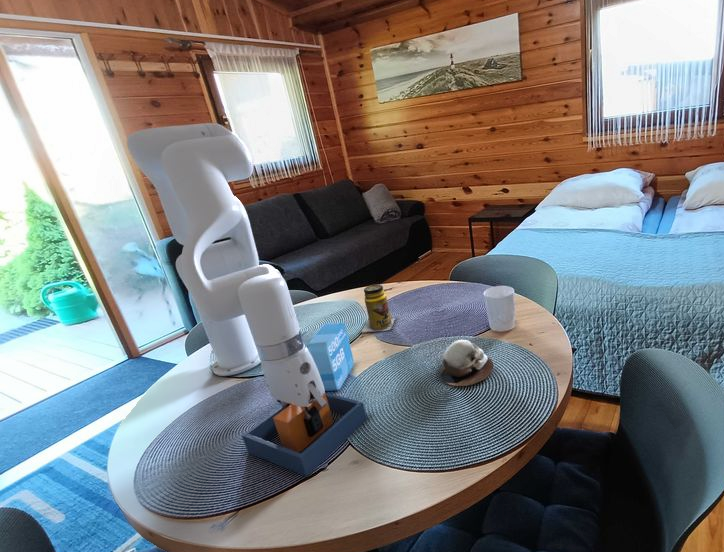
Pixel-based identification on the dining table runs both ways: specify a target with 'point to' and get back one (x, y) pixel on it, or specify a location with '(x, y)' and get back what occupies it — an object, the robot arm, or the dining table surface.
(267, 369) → the robot arm
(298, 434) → the block
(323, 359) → the data package
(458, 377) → the skull
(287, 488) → the dining table surface
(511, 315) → the white cup
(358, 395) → the dining table surface
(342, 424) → the bin
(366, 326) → the condiment
